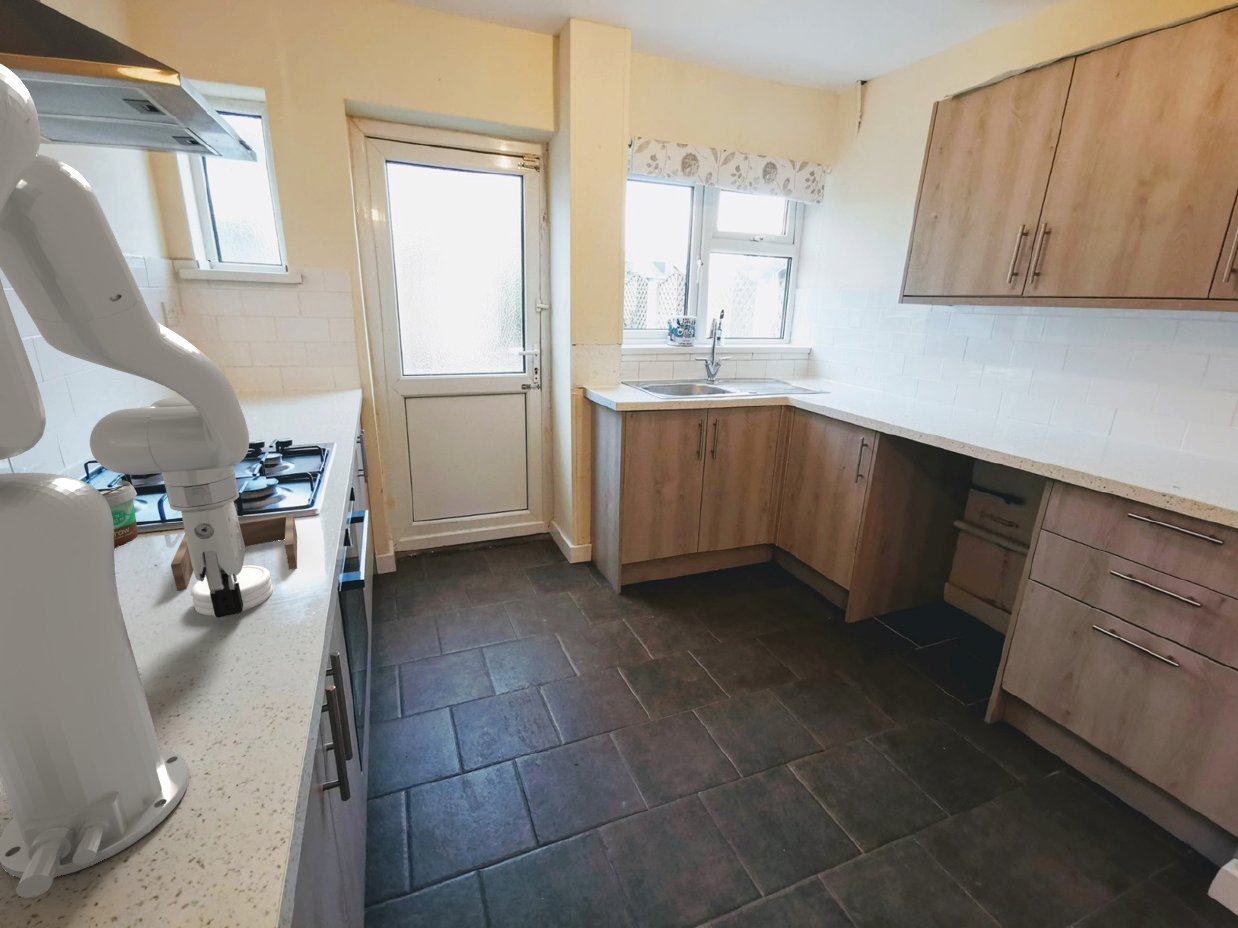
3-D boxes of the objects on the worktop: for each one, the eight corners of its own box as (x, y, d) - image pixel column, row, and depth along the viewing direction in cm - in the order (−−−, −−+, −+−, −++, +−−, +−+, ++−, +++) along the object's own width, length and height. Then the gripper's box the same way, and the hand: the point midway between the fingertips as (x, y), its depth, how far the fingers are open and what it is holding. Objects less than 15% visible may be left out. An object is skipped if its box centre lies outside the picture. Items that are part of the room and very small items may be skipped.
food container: (95, 558, 98) (80, 504, 95) (67, 554, 99) (51, 501, 96) (163, 530, 109) (151, 482, 107) (137, 527, 111) (125, 479, 108)
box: (297, 568, 95) (292, 543, 94) (177, 590, 87) (170, 564, 86) (297, 535, 108) (293, 513, 106) (192, 552, 100) (186, 529, 99)
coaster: (273, 578, 92) (270, 558, 91) (273, 606, 84) (269, 585, 83) (199, 593, 87) (194, 573, 86) (191, 624, 79) (185, 602, 78)
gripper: (231, 504, 70) (257, 632, 75) (241, 471, 82) (263, 583, 88) (155, 514, 66) (188, 648, 72) (178, 478, 79) (205, 594, 84)
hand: (229, 612), depth 80 cm, fingers closed
